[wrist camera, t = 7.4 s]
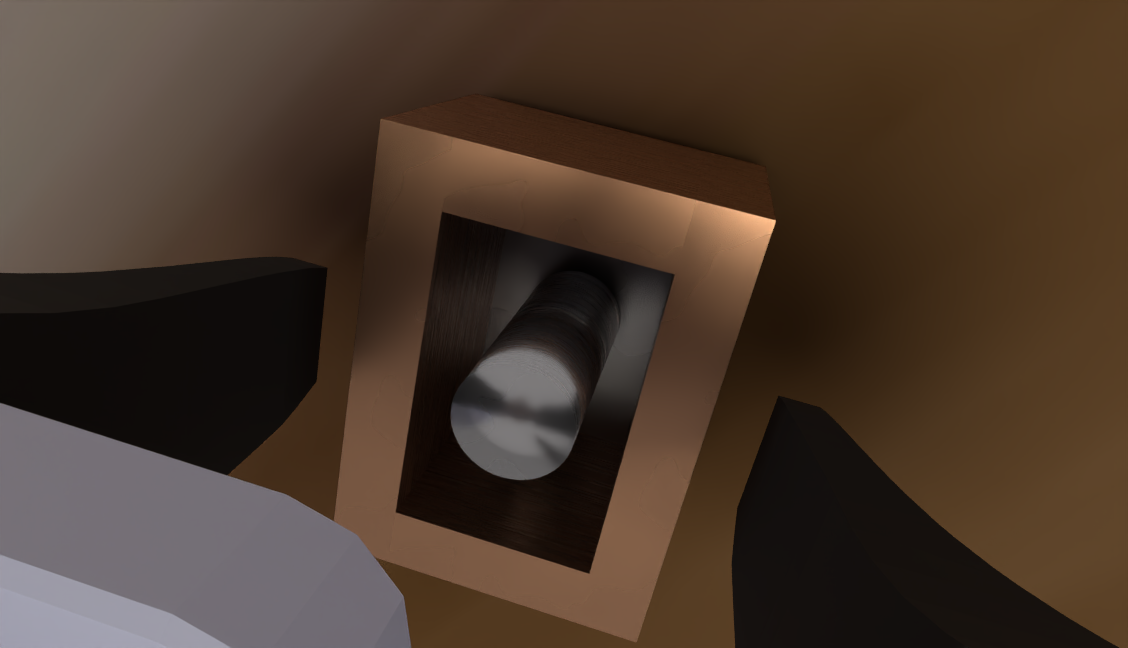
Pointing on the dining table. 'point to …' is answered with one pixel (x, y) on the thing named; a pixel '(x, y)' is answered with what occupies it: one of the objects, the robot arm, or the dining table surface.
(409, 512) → the copper rectangular sleeve
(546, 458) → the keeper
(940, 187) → the dining table surface
